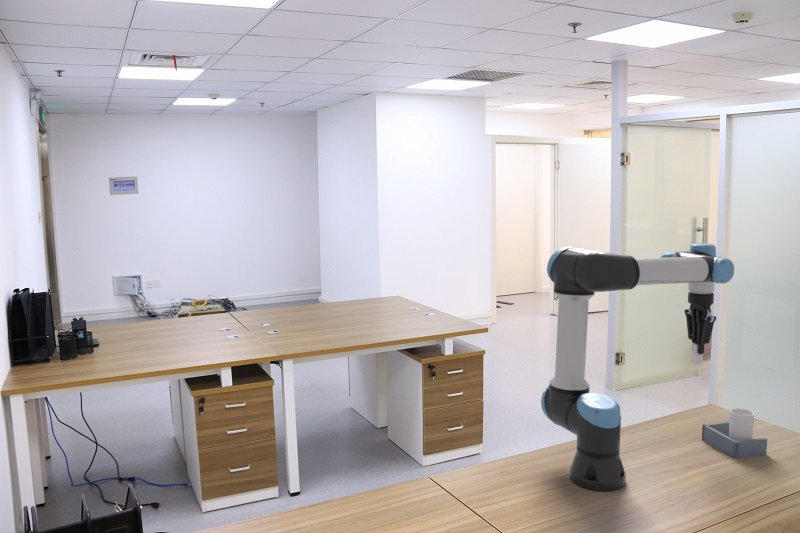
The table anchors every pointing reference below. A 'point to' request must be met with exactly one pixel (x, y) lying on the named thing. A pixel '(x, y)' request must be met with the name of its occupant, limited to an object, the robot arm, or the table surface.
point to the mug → (741, 424)
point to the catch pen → (732, 441)
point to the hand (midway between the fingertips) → (697, 362)
